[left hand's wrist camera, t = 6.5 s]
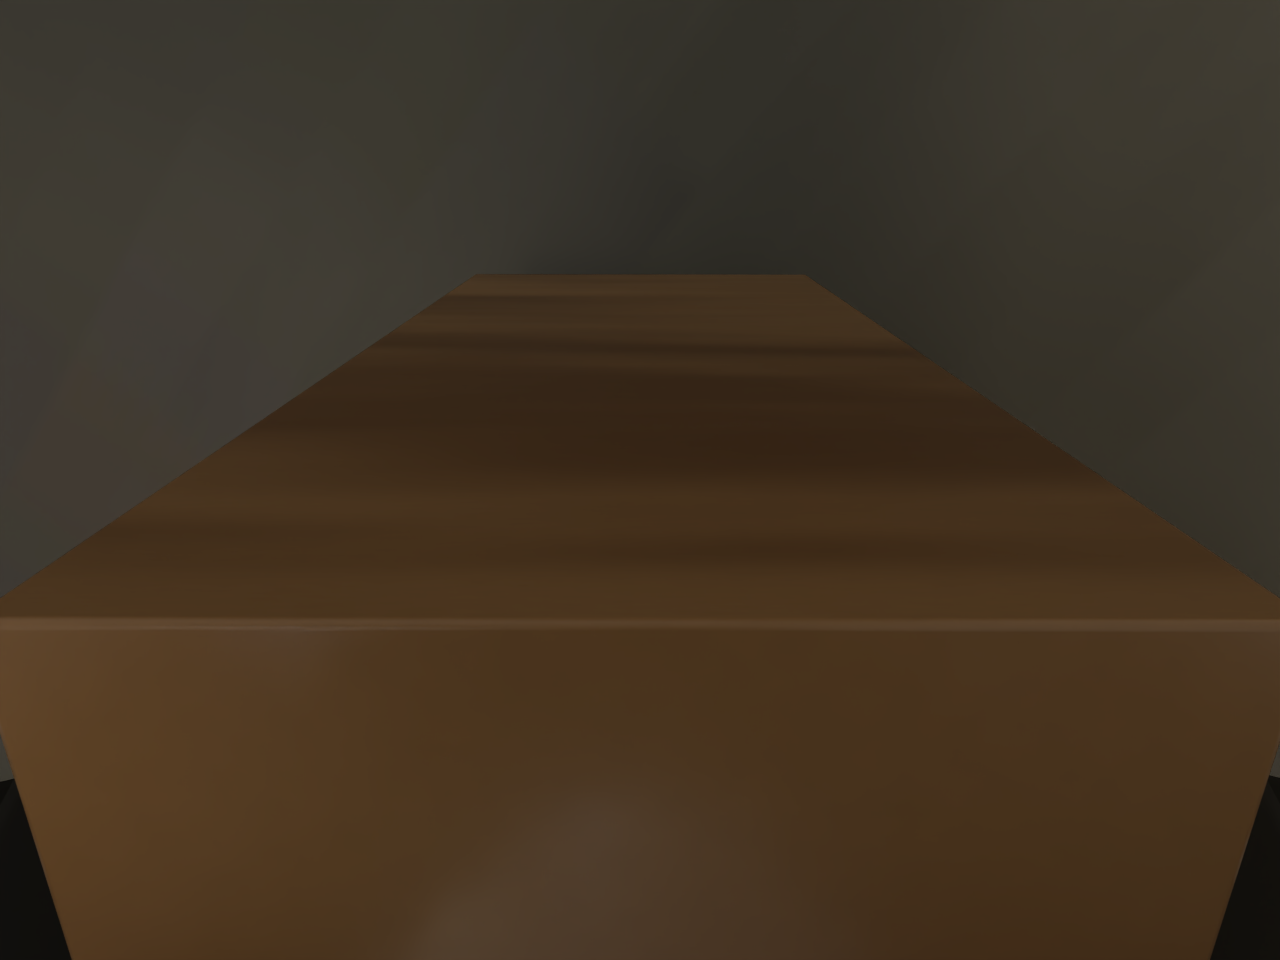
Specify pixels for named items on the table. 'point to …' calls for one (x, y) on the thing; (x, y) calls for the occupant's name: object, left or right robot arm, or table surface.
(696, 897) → the box
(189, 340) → the table surface
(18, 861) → the left robot arm
